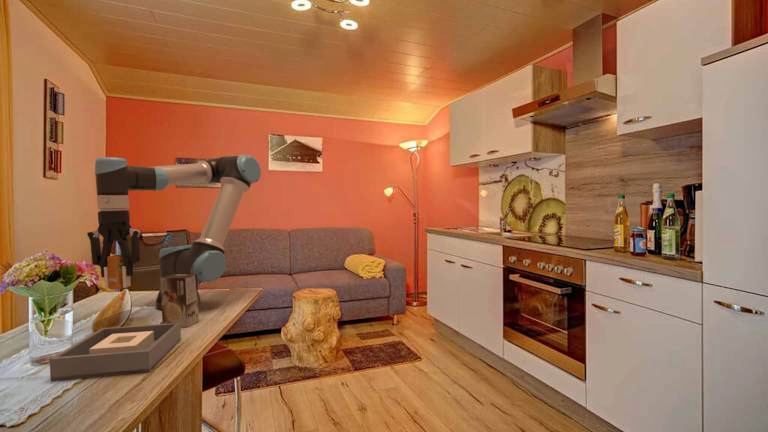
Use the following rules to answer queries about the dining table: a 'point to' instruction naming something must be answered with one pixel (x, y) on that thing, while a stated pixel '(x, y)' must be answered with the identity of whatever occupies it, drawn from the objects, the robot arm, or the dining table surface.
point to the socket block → (124, 342)
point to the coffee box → (179, 299)
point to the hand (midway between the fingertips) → (117, 287)
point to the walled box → (114, 354)
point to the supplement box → (115, 271)
